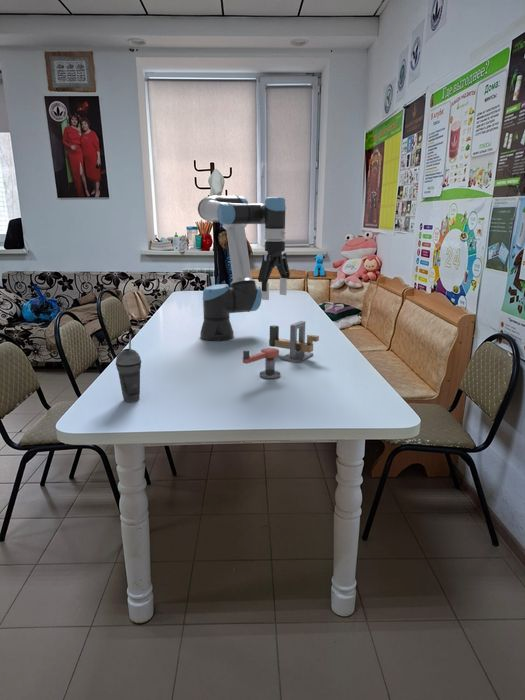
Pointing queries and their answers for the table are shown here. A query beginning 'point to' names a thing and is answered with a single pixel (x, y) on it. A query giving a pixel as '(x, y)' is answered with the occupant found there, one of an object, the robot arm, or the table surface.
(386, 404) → the table surface
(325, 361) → the table surface
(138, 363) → the beverage cup
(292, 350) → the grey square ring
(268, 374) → the dark grey metal pedestal
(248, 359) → the red joystick lever
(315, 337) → the hook bar
